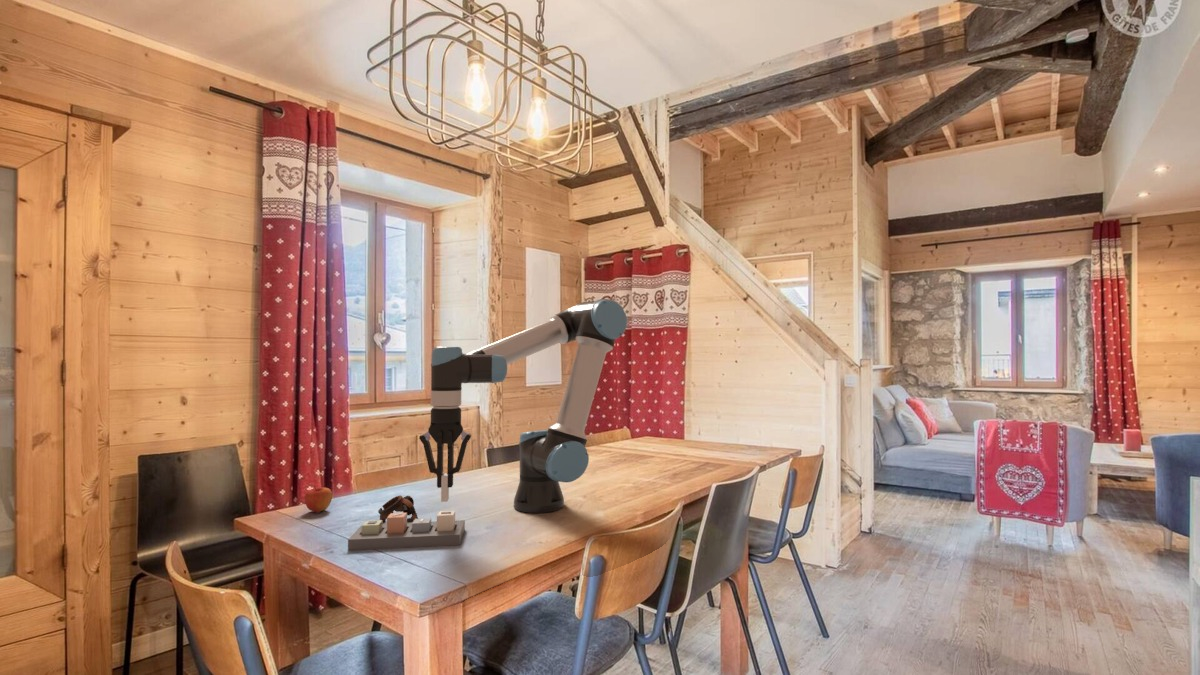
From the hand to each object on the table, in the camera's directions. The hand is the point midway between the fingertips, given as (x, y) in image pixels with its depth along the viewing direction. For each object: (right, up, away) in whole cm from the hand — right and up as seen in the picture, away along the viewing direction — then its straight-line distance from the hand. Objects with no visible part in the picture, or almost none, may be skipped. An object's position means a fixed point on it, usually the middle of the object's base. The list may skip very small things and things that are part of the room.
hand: (444, 500), depth 146 cm
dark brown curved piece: (-16, -10, +14) cm, 24 cm away
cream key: (0, -7, 0) cm, 7 cm away
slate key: (-6, -9, -1) cm, 11 cm away
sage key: (-17, -9, -2) cm, 20 cm away
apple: (-44, -11, +24) cm, 52 cm away
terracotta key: (-12, -7, -1) cm, 14 cm away
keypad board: (-9, -10, -1) cm, 13 cm away
